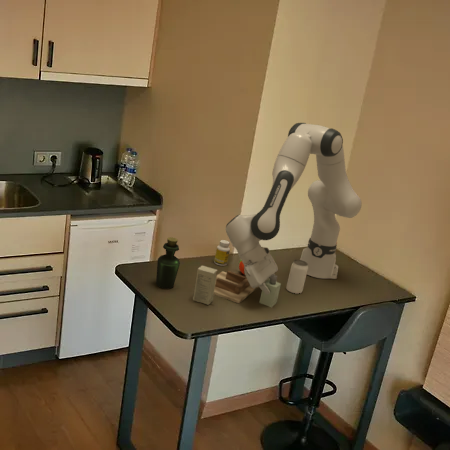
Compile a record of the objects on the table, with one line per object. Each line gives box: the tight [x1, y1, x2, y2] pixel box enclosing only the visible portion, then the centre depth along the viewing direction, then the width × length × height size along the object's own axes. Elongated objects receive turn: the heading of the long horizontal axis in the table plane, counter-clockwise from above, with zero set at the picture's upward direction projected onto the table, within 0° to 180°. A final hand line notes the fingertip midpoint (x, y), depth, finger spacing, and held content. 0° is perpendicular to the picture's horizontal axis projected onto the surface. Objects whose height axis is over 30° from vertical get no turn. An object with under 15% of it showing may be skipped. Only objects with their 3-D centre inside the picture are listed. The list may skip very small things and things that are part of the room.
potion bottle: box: [155, 236, 181, 290], centre depth 220 cm, size 8×8×18 cm
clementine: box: [238, 259, 245, 275], centre depth 245 cm, size 8×7×7 cm
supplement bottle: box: [213, 239, 231, 267], centre depth 251 cm, size 5×5×10 cm
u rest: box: [213, 270, 260, 304], centre depth 230 cm, size 20×16×4 cm
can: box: [285, 259, 308, 295], centre depth 238 cm, size 6×6×12 cm
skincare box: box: [192, 265, 218, 306], centre depth 214 cm, size 6×4×12 cm
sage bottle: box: [259, 273, 282, 308], centre depth 223 cm, size 5×5×11 cm
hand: (272, 290), depth 223 cm, fingers open, 7 cm apart
